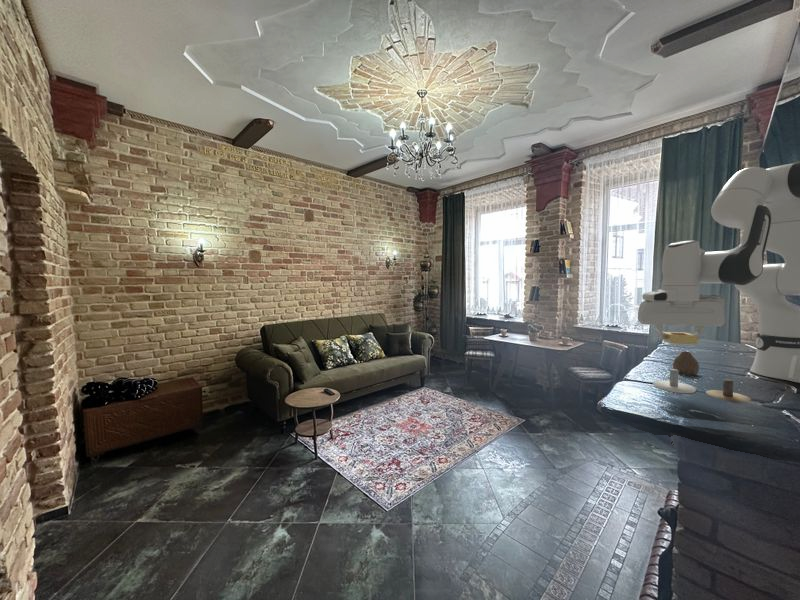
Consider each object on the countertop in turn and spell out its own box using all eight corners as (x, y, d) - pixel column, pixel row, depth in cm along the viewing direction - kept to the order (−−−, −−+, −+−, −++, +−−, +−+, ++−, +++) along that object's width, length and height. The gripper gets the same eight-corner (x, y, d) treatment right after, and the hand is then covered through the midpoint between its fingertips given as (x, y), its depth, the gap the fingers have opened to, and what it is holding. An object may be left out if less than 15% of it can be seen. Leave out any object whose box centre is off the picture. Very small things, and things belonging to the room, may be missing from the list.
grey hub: (686, 388, 101) (686, 366, 100) (702, 399, 92) (703, 376, 91) (648, 385, 104) (648, 364, 104) (660, 395, 95) (660, 373, 95)
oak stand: (738, 396, 93) (739, 376, 92) (759, 408, 84) (760, 387, 84) (699, 393, 96) (700, 374, 96) (716, 404, 88) (716, 383, 87)
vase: (704, 379, 108) (704, 354, 107) (680, 379, 109) (681, 354, 109) (689, 373, 115) (690, 350, 114) (668, 373, 116) (668, 349, 115)
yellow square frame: (686, 340, 98) (686, 332, 98) (697, 344, 92) (697, 336, 92) (661, 339, 100) (661, 331, 100) (670, 343, 94) (670, 335, 94)
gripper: (718, 294, 94) (716, 339, 95) (636, 294, 102) (635, 336, 103) (731, 295, 88) (729, 343, 89) (643, 295, 96) (642, 340, 97)
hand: (678, 339), depth 96 cm, fingers closed on yellow square frame, 6 cm apart
